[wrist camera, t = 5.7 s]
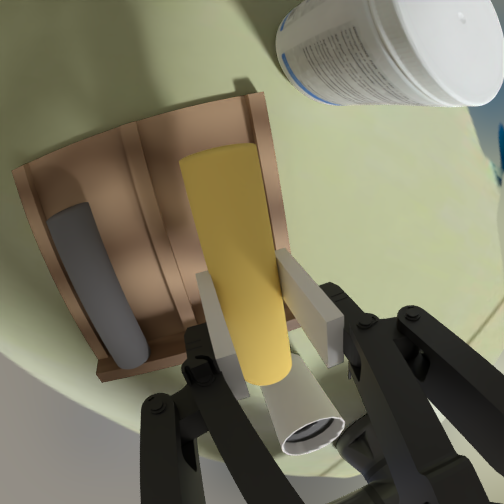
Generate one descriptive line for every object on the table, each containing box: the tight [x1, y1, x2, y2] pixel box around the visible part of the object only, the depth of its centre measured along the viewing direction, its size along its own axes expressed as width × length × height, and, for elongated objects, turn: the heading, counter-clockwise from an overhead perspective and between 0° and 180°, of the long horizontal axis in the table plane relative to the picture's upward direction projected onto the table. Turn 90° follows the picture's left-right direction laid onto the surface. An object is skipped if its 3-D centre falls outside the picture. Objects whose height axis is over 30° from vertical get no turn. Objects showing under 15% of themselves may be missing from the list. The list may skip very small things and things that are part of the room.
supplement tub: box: [276, 0, 504, 107], centre depth 15 cm, size 10×10×15 cm
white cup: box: [260, 353, 345, 455], centre depth 30 cm, size 7×7×10 cm
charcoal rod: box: [46, 202, 151, 369], centre depth 23 cm, size 14×4×4 cm, turn 10°
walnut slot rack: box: [12, 92, 301, 383], centre depth 23 cm, size 20×20×3 cm
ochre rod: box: [179, 143, 292, 386], centre depth 17 cm, size 14×4×4 cm
